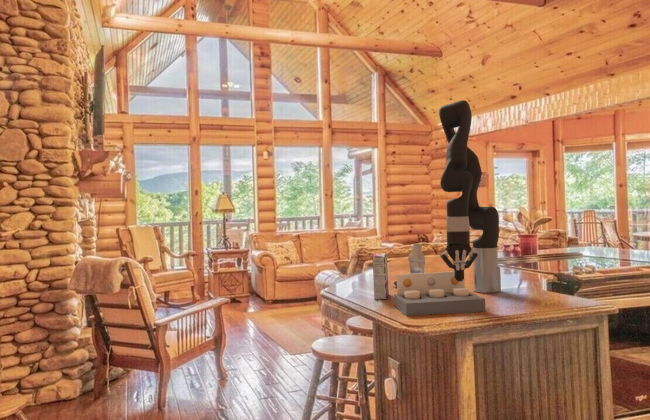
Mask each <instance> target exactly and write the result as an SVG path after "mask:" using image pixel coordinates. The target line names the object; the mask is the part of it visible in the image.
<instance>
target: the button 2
mask: <svg viewBox="0 0 650 420" xmlns="http://www.w3.org/2000/svg"><path fill="white" fill-rule="evenodd" d="M469 292H470V290H469V287H465V288H462V287H459V288H453V295H454V296H455V297H460V296H469Z"/></svg>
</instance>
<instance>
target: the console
mask: <svg viewBox="0 0 650 420" xmlns="http://www.w3.org/2000/svg"><path fill="white" fill-rule="evenodd" d="M396 281H397V286H396V293H394V294H393V299H394V300H393V301H394V302H393V303H394V305H395V306H396V307H395V306H394V307H395V308H397V310H399V311H400V312H401V313H402V314H404V315H405V316H406V317H412V316H413V315H415V316H429V315H430V314H432V315H444V314H446V315H447V314H449V315H450V314H461V313H462V314H463V313H478V312H479V313H481V312H487V311H486V310H487V309H486V298H484V297H482V296H479V295H477V294H475V293H473V292H470V291H469V296H460V297H455V296H454V295H453V288H459V287H462V288H466V287H465V278H464V279H463V281H457V280H456V279H455V273H454V271H439V272H435V271H434V272H424V273H416V274H410V273H399V274H396ZM430 289H443V290H444V297H442V298H430V297H429V290H430ZM407 290H417V291H420V299H405V294H404V291H407ZM413 317H414V316H413Z"/></svg>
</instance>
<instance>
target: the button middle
mask: <svg viewBox="0 0 650 420" xmlns="http://www.w3.org/2000/svg"><path fill="white" fill-rule="evenodd" d="M429 297H430V298H442V297H444V290H443V289H430V290H429Z"/></svg>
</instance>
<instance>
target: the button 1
mask: <svg viewBox="0 0 650 420" xmlns="http://www.w3.org/2000/svg"><path fill="white" fill-rule="evenodd" d="M404 294H405V299H420V291H417V290H407V291H404Z"/></svg>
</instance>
